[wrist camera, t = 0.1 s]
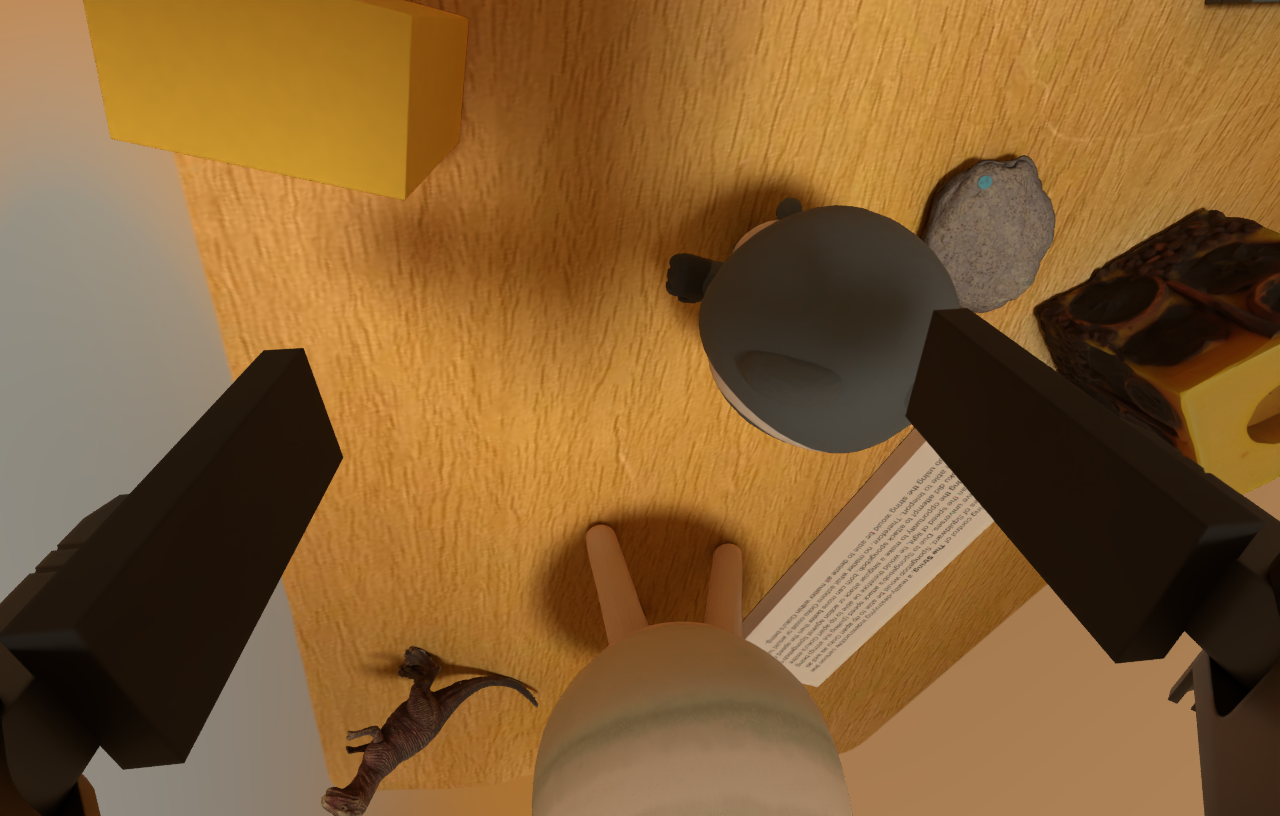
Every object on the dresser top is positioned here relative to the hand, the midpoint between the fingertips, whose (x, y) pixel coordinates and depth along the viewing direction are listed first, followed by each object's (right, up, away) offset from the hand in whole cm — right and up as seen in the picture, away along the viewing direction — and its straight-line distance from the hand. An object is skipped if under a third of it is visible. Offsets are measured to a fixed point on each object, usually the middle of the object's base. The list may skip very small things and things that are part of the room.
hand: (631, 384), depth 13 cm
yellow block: (-11, +15, +13) cm, 23 cm away
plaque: (+18, -11, +33) cm, 39 cm away
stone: (+19, +9, +20) cm, 29 cm away
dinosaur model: (-15, -22, +36) cm, 45 cm away
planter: (+1, -12, +32) cm, 34 cm away
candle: (+31, +5, +24) cm, 39 cm away
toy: (+7, +8, +20) cm, 22 cm away
